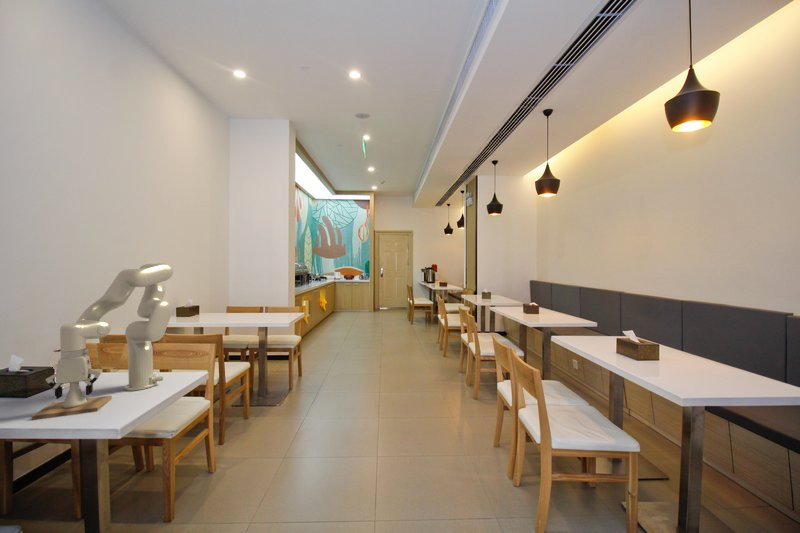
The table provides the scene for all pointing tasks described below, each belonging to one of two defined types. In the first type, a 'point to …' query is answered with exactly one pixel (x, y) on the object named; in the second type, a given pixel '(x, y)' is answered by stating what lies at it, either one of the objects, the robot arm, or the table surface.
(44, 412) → the walnut board
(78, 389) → the flask
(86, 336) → the robot arm
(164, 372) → the table surface
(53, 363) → the wineglass
